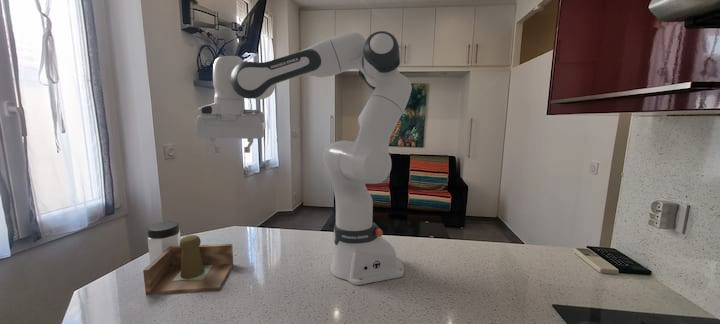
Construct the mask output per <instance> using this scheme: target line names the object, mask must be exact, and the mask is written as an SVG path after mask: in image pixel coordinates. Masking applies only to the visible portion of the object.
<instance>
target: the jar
mask: <svg viewBox="0 0 720 324" xmlns="http://www.w3.org/2000/svg"><path fill="white" fill-rule="evenodd" d="M147 235H148V237H147V245H148V246H147V247H148V255H149V257H148V258H149V265H150V264H151V263H152V262H153V261H154V260H155V259H156V258H157V257H158V256H160V255H161V254H162V253H163V252H164V251H165V250H166V249H167V248H168V247H172V246H180V244H179V243H180V240H181V239H182V238H181V230H180V224H179V222H178V221H171V220H170V221H162V222H157V223H154V224H151V225H149V226H148V227H147Z"/></svg>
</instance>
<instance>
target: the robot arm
mask: <svg viewBox="0 0 720 324" xmlns="http://www.w3.org/2000/svg"><path fill="white" fill-rule="evenodd" d="M400 58H401V57H400V47H399V43H398V40H397V38H396V37H395V36H394V34H392V33H391V32H388V31H386V30H385V31H384V30H379V31H376V32H372V33H371V34H370V35H369V36H368V37H367V39H365V37H364V36H363V35H362V34H360V33H358V32H350V33H349V32H348V33H344V34H338V35H336V36H332V37H329V38H326V39H323V40H321V41H319V42H317V43H314V44H313V45H310V46H308V47H306V48H304V49H301V50H299V51H298V52H294V53H291V54H288V55H285V56H281V57H278V58H275V59H272V60H269V61H264V62H257V61H245V60H243V58H241V57H240V56H239V55H235V54H234V55H233V54H231V55H230V54H229V55H228V54H225V55H221V56H219V57H217V58H216V59H215V60H214V62H213V65H212V66H213V67H212V85H213V88H214V97H213V103H211V104H206V105H203V106H200V107H198V108H197V114H198V116H197V118H196V121H195V135H196V137H197V138H198V139H208V143H209V144H210V145H211V147H212V149H213V151H212V152H213V153H214V154H218V153H221V149H220V148H221V147H220V146H218V145H217V144H216V143H215V142H216V139H226V140H229V139H231V140H232V139H238V140H239V139H241V140H242V139H245V140H246V139H247V142H248V144H247V145H246V146H244V148H243V150H244V153H249V154H250V153H251V146H252V145H253V143H254V139H259V140H261V139H263V138H264V136H265V128H264V122H265V115H264V113H263V112H262V111H260V110H259V109H245V108H246V106H245V99H253V100H264V99H267V98H269V97H270V96H272V94H273V93H274V91H275V87H276V86H275V85H276V84H279V83H283V82H285V81H288V80H290V79H291V80H292V79H295V78H298V77H301V76H310V77H316V78H320V79H321V78H328V77H331V76H336V75H339V74H342V73H344V72H347V71H350V70H358V75H359V77H361V78H362V80H363V81H364V82H365V84H366V85H367V86H368V88H369V89H371V91H373V92H372V93H371V95H370V97H369V98H368V100H367V102H366V104H365V106H364V107H363V109H362V110H361V112H360V114H359V116H358V119H357V122H358V126H359V131H358V134H357V137H356V139H354V141H350V140H345V139H344V140H338V141H334V142H331V143H329V144H328V145H327V146H326V147H325V148H324V151H323V154H322V155H323V156H322V161H323V164H324V166H325V167H326V169H327V171H328V173H329V174H328V175H329V178H330V181H331V184H332V189H333V193H334V200H335V201H334V202H335V223H334V227H333V242H334V248H333V254H332V261H331V262H330V263H331V264H330V266H329V270H330V272H331V274H333V275H334V276H335V277H337V278H339V279H341V280H345V281H347V282H349V283H350V284H353V285H355V286H356V285H357V286H360V285H364V284H370V283H375V282H381V281H386V280H392V279H398V278H403V276H404V275H405V266H404V264H403V262H402V261H401V259H400V258H399V257H398V256H397V254H396V251H395V249H394V246H393V245H392V244H391V243H390V242H389V241H388V240H386V239H385V238H383V234H384V232H383V229H381V228H380V227H379V226H378V225H377V224H376V223H375V222H373V218H374V217H373V215H374V214H373V211H374V208H373V207H374V201H373V198H372V195H371V194H370V192H369V191H368V188H367V186H366V184H367V185H373V184H375V185H376V184H381V183H383V182H384V181H386V180H387V178H388V177H389V175H390V173H391V171H392V158H391V156H390V154H389V145H390V140H391V137H392V135H393V133H394V131H395V128H396V127H397V125H398V122H399V121H400V119H401V117H402V116H403V114H404V112H405V109H406V107H407V104H408V103H409V100H410V96H411V93H412V91H413V90H412V88H413V86H412V83H411V81H410V79H409V78H408V77H406V76H405V75H403V73H400V71H399V66H400V65H401V59H400Z"/></svg>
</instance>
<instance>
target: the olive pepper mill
mask: <svg viewBox="0 0 720 324" xmlns="http://www.w3.org/2000/svg"><path fill="white" fill-rule="evenodd" d="M201 242H202V241H201V238H200V237H199V236H198V235H194V234H191V235H185V236H184V237H182V238H181V240H180V243H179V244H180V248H181V249H182V260H181V273H180V276H181V278H184V279H190V278H195V277H198V276H200V275H201V274H203V273H204V267H203V263H202V259H201V255H200V250H199V246H200V245H201Z"/></svg>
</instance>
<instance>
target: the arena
mask: <svg viewBox="0 0 720 324" xmlns="http://www.w3.org/2000/svg"><path fill="white" fill-rule="evenodd" d="M199 250H200V255H201V259H202V263H203V267H204V273H203V274H201V275H200V276H198V277H195V278H190V279H184V278H181V276H180V273H181V260H182V249H181V248H180V246H172V247H168V248H167V249H166V250H165V251H164V252H163V253H162V254H161V255H160V256H158V257H157V258H156V259H155V260H154V261H153V262H152V263H151V264H150V263H149V264H148V265H147V266H146V267H145V268H144V269H143V271H142V273H143V280H144V281H143V282H144V289H145V295H149V296H151V295H163V294H164V295H165V294H179V293H193V292H208V291H211V292H212V291H220V290H221V288H222V287H223V284H224V282H225V280H226V278H227V277H228V276H229V273H230V271H231V270H232V268H233V266H234V254H233V253H234V251H233V243H219V244H200V246H199Z"/></svg>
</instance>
